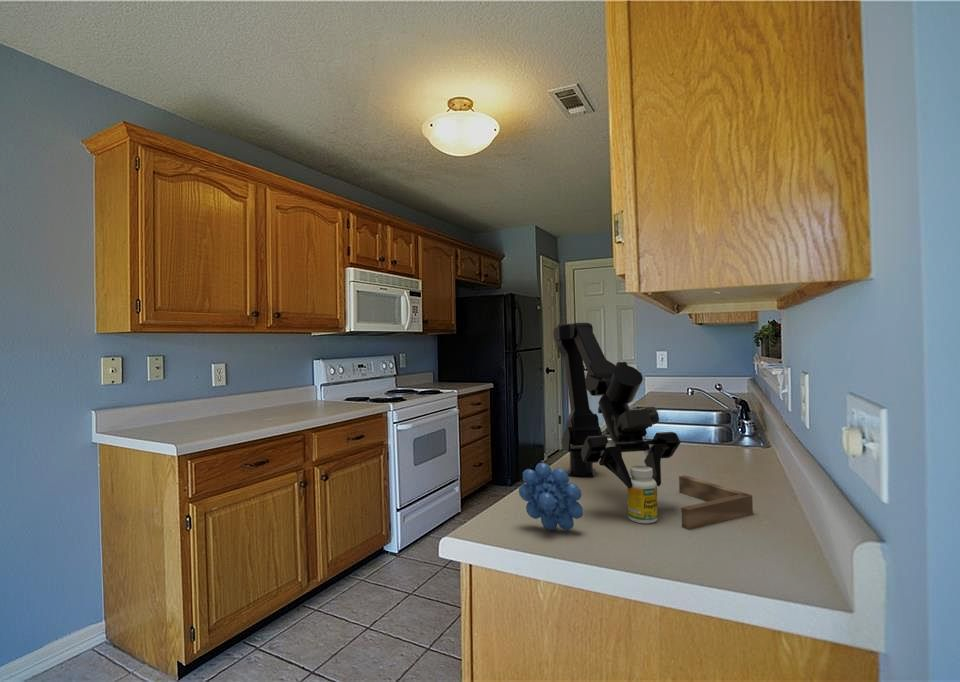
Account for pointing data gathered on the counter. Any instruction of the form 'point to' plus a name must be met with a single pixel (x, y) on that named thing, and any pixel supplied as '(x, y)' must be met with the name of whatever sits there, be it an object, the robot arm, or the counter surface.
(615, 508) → the counter surface
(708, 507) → the walnut corner walls
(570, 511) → the blue knobby flower
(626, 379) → the robot arm
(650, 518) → the supplement bottle
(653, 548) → the counter surface
